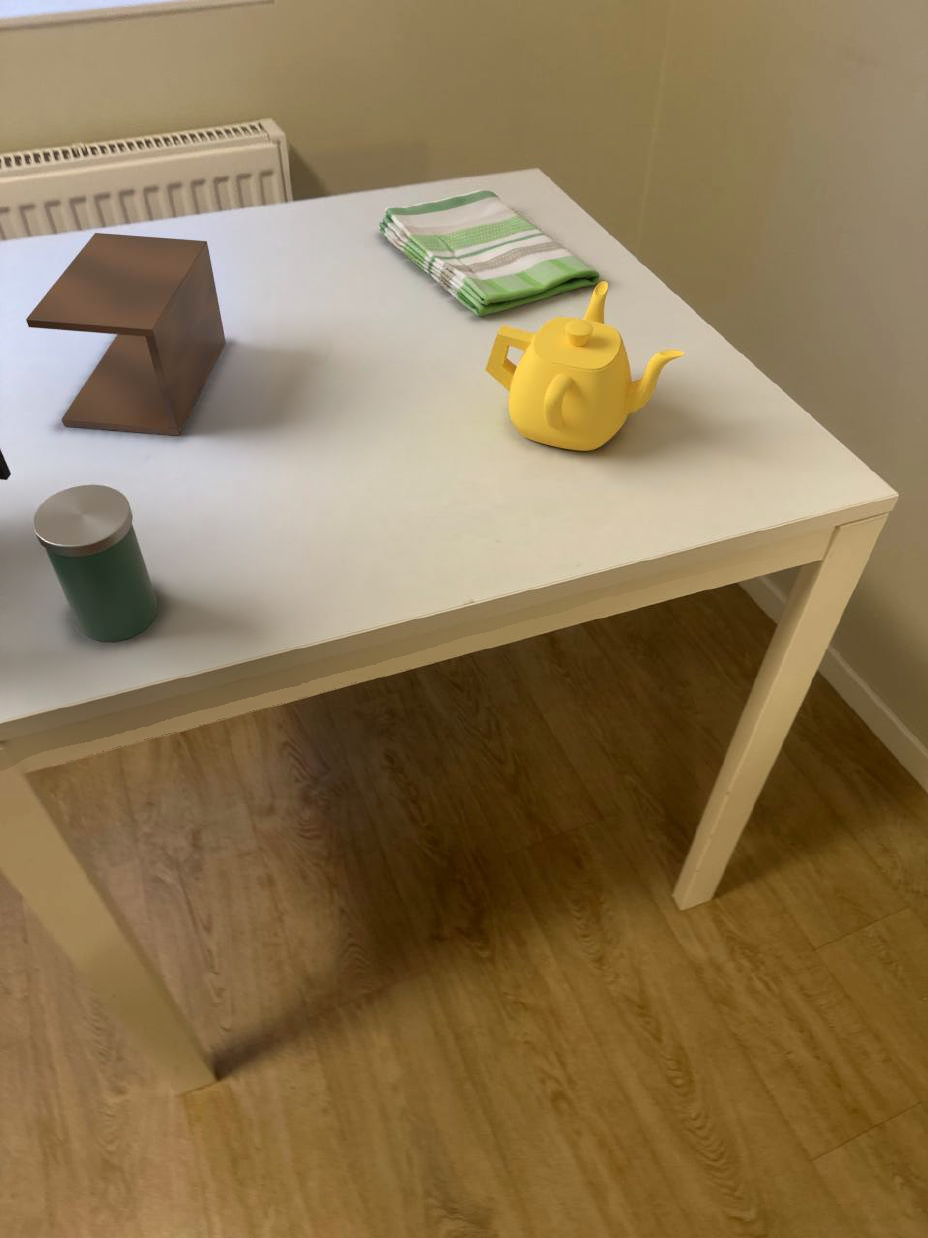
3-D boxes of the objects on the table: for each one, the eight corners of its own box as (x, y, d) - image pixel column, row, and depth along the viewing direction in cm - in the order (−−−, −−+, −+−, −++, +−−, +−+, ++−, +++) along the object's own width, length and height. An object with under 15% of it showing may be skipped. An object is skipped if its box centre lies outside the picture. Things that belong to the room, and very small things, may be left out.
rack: (123, 334, 97) (94, 232, 89) (226, 343, 97) (207, 240, 89) (63, 426, 87) (25, 318, 79) (178, 436, 86) (152, 329, 78)
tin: (86, 655, 68) (43, 558, 61) (65, 599, 72) (23, 501, 65) (171, 625, 71) (140, 527, 63) (146, 572, 74) (115, 474, 67)
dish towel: (491, 205, 120) (493, 178, 117) (603, 283, 107) (607, 253, 105) (375, 236, 114) (373, 208, 111) (479, 323, 101) (480, 293, 98)
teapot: (665, 441, 88) (687, 348, 80) (540, 477, 84) (551, 382, 76) (592, 365, 96) (605, 275, 88) (474, 395, 92) (478, 302, 84)
